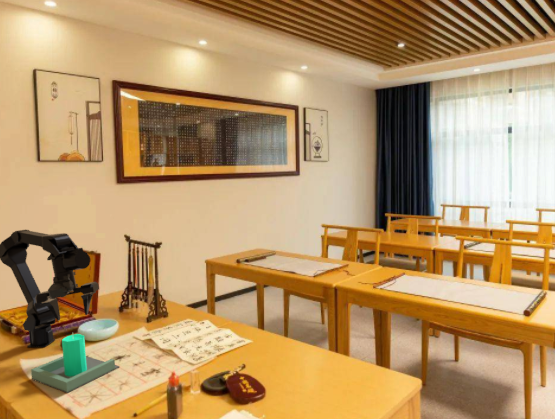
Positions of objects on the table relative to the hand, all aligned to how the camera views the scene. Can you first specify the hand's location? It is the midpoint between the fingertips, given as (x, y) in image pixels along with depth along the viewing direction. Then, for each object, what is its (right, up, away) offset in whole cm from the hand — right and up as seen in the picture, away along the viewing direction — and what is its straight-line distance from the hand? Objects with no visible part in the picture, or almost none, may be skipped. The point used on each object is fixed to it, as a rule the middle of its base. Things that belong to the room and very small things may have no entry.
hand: (72, 317), depth 143 cm
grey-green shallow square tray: (+8, -13, -15) cm, 22 cm away
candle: (+8, -13, -15) cm, 21 cm away
